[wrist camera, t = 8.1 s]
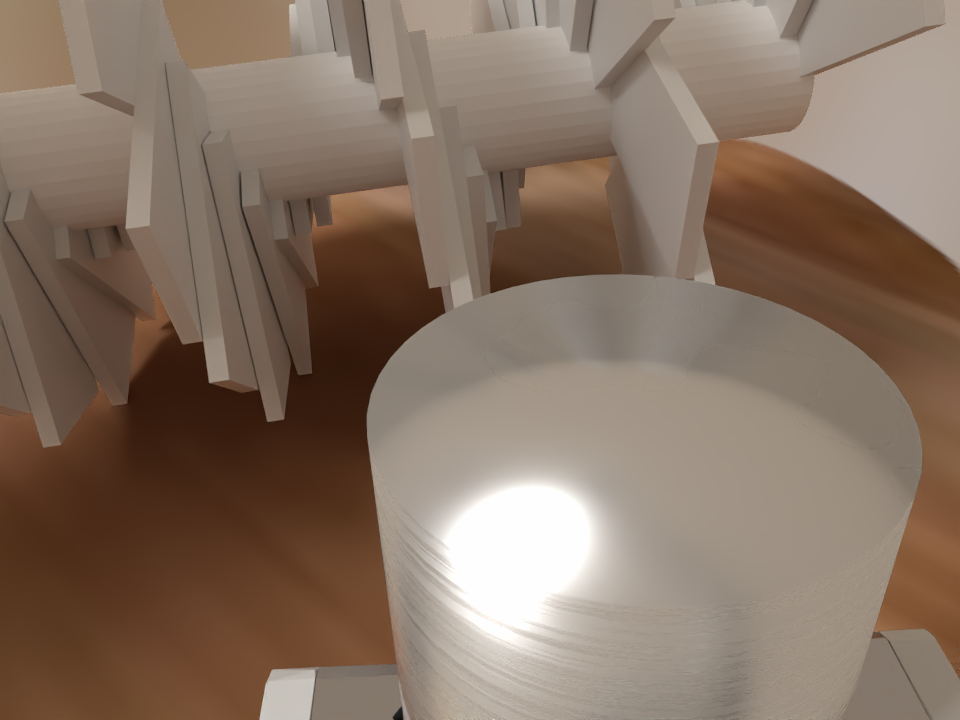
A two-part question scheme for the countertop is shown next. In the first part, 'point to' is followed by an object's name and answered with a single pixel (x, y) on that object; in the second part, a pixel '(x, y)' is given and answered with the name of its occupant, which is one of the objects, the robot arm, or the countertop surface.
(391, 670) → the robot arm
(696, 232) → the spiral staircase
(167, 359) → the countertop surface
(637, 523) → the metal post on plate
